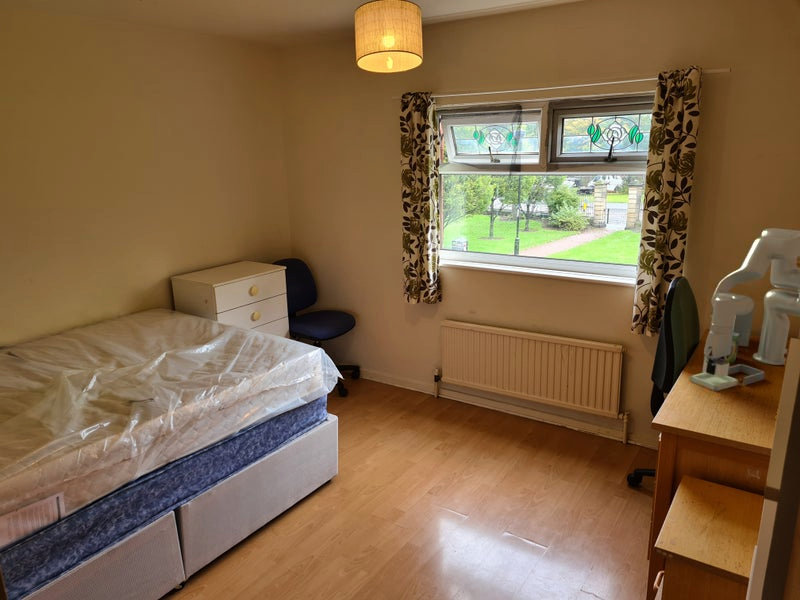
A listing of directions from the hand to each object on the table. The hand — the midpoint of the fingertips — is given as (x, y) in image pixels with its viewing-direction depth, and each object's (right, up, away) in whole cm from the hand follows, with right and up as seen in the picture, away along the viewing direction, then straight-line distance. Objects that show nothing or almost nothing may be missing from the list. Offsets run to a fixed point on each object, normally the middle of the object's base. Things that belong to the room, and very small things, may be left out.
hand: (715, 371), depth 215 cm
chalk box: (+19, +2, +27) cm, 33 cm away
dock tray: (0, -5, +1) cm, 5 cm away
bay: (+14, -3, +5) cm, 15 cm away
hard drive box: (+37, +8, +48) cm, 61 cm away
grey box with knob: (0, -1, 0) cm, 1 cm away
